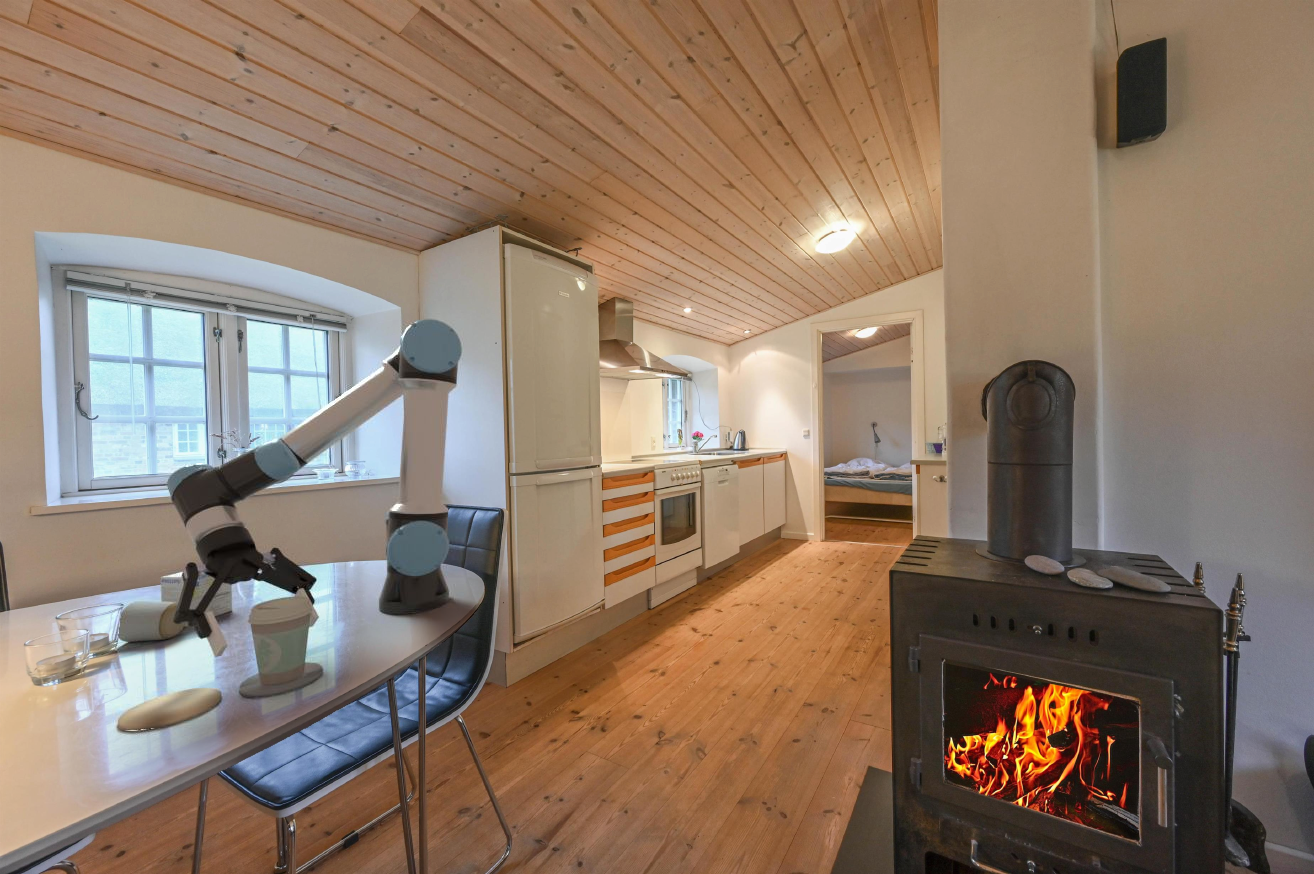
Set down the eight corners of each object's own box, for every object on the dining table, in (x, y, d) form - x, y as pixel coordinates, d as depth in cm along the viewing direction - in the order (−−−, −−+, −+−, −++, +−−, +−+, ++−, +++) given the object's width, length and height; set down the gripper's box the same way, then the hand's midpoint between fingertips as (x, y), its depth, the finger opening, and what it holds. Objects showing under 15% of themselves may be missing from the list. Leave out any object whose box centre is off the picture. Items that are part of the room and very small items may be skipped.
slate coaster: (322, 660, 92) (322, 657, 92) (323, 684, 83) (323, 680, 83) (244, 676, 86) (244, 673, 86) (234, 704, 77) (234, 700, 77)
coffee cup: (244, 678, 84) (242, 604, 84) (306, 660, 90) (304, 592, 90) (255, 695, 78) (253, 615, 78) (320, 675, 84) (318, 601, 84)
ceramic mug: (162, 644, 101) (162, 604, 101) (114, 647, 100) (114, 607, 100) (201, 626, 111) (201, 590, 112) (158, 629, 110) (158, 592, 110)
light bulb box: (208, 609, 122) (208, 564, 122) (233, 610, 121) (233, 564, 121) (159, 626, 111) (158, 576, 112) (186, 627, 111) (185, 576, 111)
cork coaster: (226, 684, 83) (226, 681, 83) (214, 714, 74) (214, 710, 74) (131, 705, 77) (131, 701, 77) (105, 740, 68) (105, 735, 68)
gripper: (288, 539, 104) (336, 624, 98) (118, 567, 82) (165, 681, 75) (304, 514, 102) (354, 600, 95) (133, 536, 79) (183, 650, 73)
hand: (271, 636), depth 85 cm, fingers open, 13 cm apart
